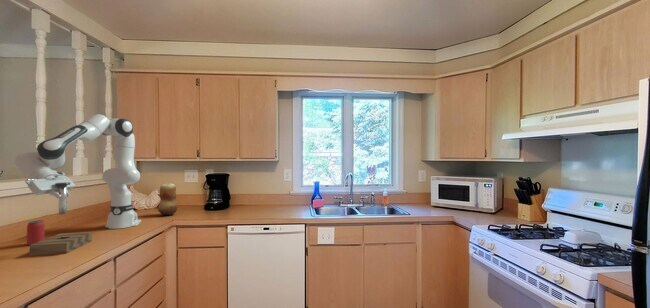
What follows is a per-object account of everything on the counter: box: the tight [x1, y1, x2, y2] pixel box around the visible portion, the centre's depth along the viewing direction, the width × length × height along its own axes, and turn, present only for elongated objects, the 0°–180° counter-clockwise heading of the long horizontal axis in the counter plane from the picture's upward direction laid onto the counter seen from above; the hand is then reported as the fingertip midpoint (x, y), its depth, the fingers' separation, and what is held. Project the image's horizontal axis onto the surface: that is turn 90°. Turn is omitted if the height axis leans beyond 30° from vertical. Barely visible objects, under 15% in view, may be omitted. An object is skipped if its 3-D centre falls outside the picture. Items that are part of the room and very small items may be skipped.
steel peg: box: [55, 182, 70, 216], centre depth 143 cm, size 6×6×16 cm
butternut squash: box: [157, 182, 179, 216], centre depth 220 cm, size 14×13×25 cm
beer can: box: [26, 219, 46, 246], centre depth 150 cm, size 7×7×12 cm
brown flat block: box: [29, 231, 93, 257], centre depth 143 cm, size 20×15×5 cm
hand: (64, 196), depth 143 cm, fingers closed on steel peg, 3 cm apart
